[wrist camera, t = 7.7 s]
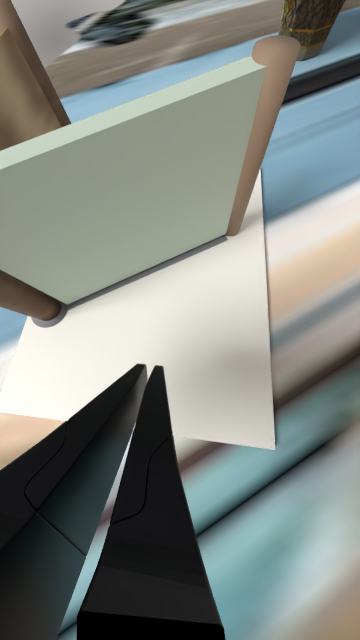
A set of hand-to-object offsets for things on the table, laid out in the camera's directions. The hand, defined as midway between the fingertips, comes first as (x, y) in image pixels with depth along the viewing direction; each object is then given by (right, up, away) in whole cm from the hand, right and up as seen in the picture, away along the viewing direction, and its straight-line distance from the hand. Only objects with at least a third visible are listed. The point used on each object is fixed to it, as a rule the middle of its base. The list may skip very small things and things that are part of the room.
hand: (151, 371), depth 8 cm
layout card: (-2, +7, +9) cm, 12 cm away
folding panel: (-1, +8, +8) cm, 12 cm away
